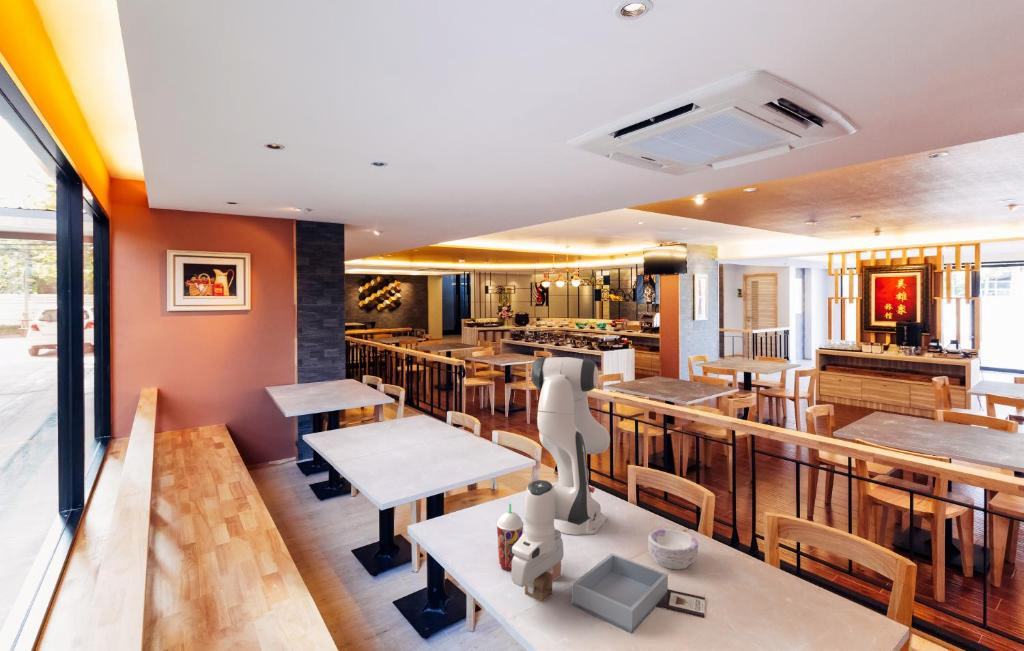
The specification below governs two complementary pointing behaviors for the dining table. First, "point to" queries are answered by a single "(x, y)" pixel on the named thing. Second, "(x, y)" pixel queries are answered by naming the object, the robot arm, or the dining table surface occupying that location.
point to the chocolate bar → (683, 603)
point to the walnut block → (541, 587)
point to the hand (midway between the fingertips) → (538, 587)
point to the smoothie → (508, 536)
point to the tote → (620, 591)
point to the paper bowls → (673, 548)
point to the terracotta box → (556, 571)
